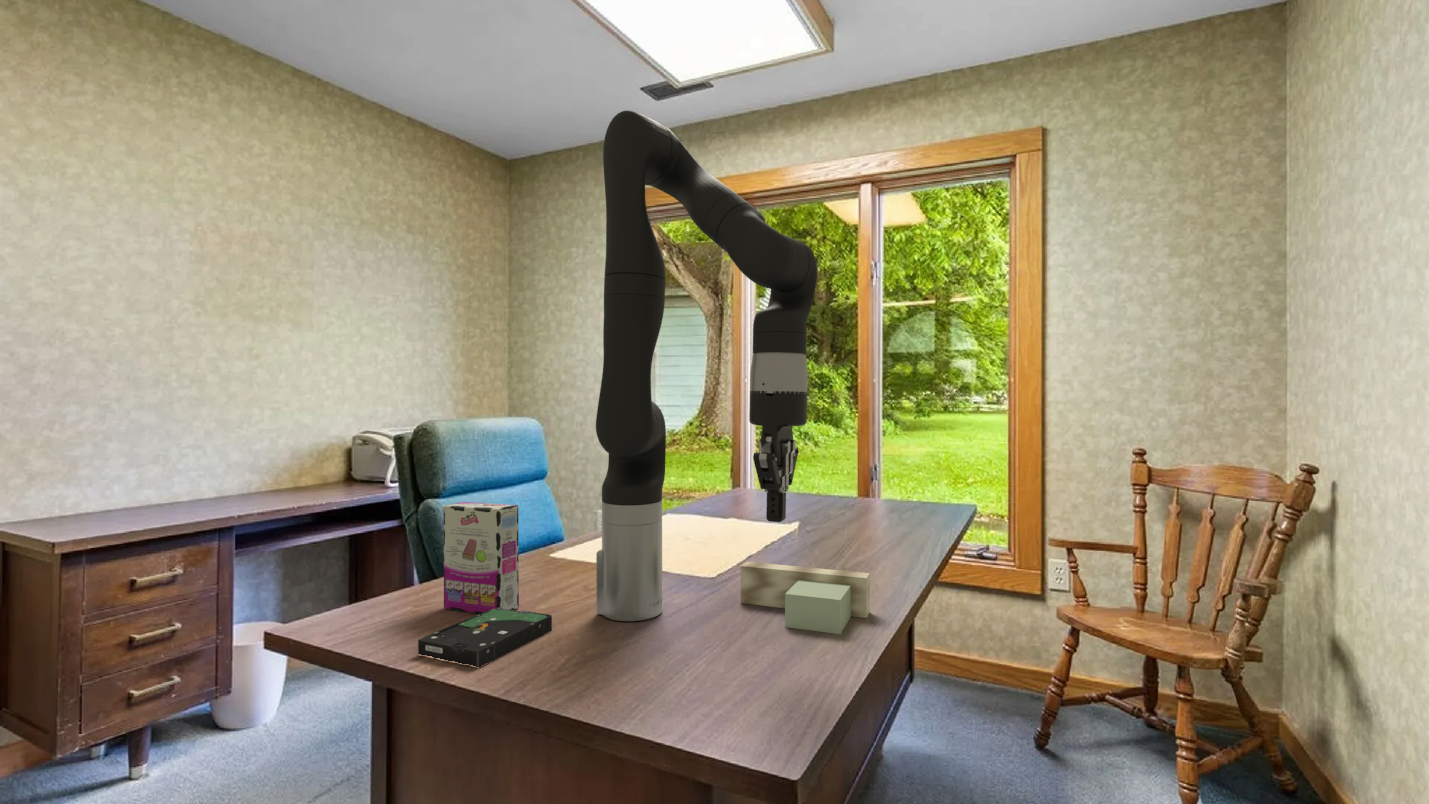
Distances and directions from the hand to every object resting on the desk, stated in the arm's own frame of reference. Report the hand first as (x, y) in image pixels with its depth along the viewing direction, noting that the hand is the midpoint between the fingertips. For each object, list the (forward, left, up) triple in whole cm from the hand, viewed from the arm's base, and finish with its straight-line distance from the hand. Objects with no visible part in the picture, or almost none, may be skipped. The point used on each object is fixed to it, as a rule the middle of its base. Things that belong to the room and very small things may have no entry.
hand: (775, 520), depth 87 cm
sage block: (+3, +13, -17) cm, 21 cm away
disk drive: (-37, -12, -18) cm, 43 cm away
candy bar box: (-48, -1, -17) cm, 51 cm away
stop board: (-1, +18, -17) cm, 25 cm away
